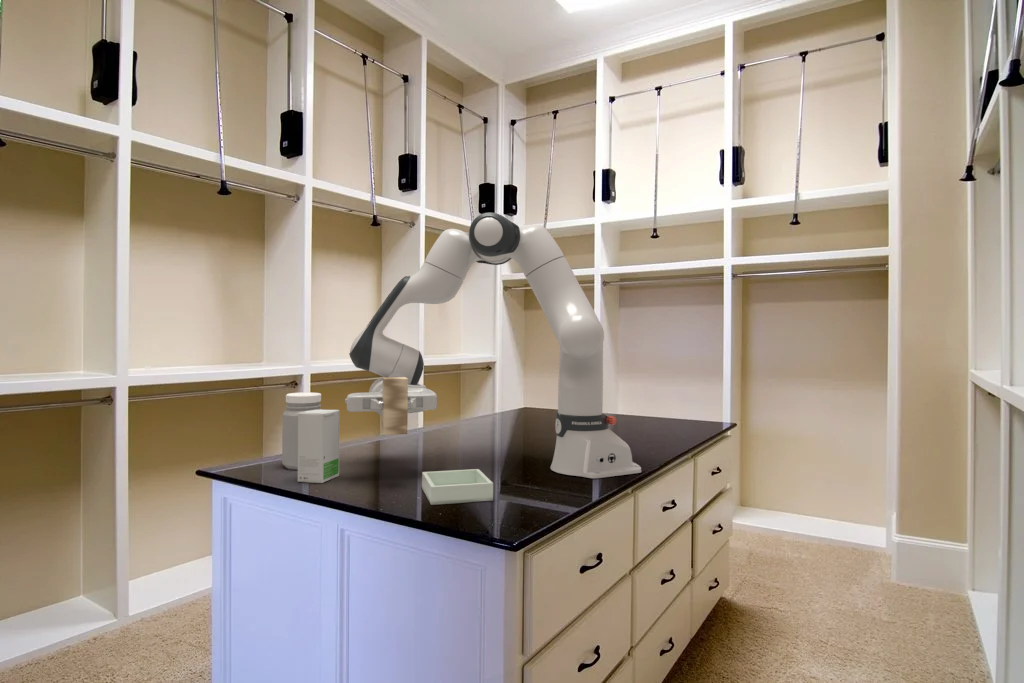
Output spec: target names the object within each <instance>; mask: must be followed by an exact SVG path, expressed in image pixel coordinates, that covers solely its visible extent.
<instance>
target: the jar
mask: <svg viewBox="0 0 1024 683" xmlns="http://www.w3.org/2000/svg"><path fill="white" fill-rule="evenodd" d="M321 401H322V393H320V392H310V391H307V392H291V393H287V394H285V403H287V404H286V405H285V410H284V412H283V413H282V429H281V430H282V433H281V434H282V437H281V438H282V444H281V445H282V447H281V448H282V450H281V451H282V452H281V456H282V458H281V462H282V463H281V464H282V465H283V466H284V467H285V468H286V469H288V470H297V471H298V413H299V412H304V411H310V410H323V409H322V408H321V407H322V404H320V403H321Z"/></svg>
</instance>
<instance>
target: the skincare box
mask: <svg viewBox="0 0 1024 683" xmlns="http://www.w3.org/2000/svg"><path fill="white" fill-rule="evenodd" d="M339 476H340V410H339V409H322V410H310V411H304V412H299V413H298V470H297V482H298V483H308V484H314V483H315V484H323V483H325V482H327V481H329V480H330V481H331V480H333V479H334V478H337V477H339Z"/></svg>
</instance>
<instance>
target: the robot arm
mask: <svg viewBox="0 0 1024 683" xmlns="http://www.w3.org/2000/svg"><path fill="white" fill-rule="evenodd" d="M469 226H470V227H469V230H468V232H467V231H463V230H461V229H458V228H457V229H456V228H448V229H445V230H443V231H442V232H441V233H440V235H439V236H438V237H437V239H436V240H435V242H434V243H433V245H432V246H431V248H430V250H429V252H428V253H427V255H426V256H425V257H426V258H425V260H424V262H423V264H422V265H421V267H420V268H419V269H418V270H417V271H416V272H415V273H414V274H412V275H408V276H407V275H405V276H403V277H402V278H401V279H400V280H399V281H398V282H397V284H396V285H395V286H394V287H393V289H392V290H391V291H390V293H388V295H387V297H386V298H385V299H384V300H383V302H382V303H381V305H380V306H379V308H378V309H377V310H376V312H375V314H373V316H372V318H371V320H370V321H369V323H368V324H367V325H366V327H365V328H363V330H361V332H360V333H359V334H358V335H357V336H356V337H355V339H354V340H353V341H352V343H351V346H350V348H349V350H350V351H349V352H348V353H349V354H348V355H349V357H350V360H351V362H352V364H353V365H354V366H355V368H357V369H361V370H363V371H366V372H371V373H373V374H376V375H379V376H380V377H379V378H377V379H376V380H374V381H373V382H372V384H371V385H370V387H369V389H368V392H352V393H349V394H347V396H346V398H345V399H344V402H345V404H346V410H347V412H350V413H355V412H356V413H358V412H359V413H360V412H364V413H365V412H375V413H377V414H378V415H379V416H381V417H382V410H383V409H384V407H383V405H384V402H383V401H382V389H383V377H406V378H407V379H408V414H413V413H420V412H423V413H424V412H425V411H427V410H428V411H435V410H436V409H437V406H438V396H437V393H436V392H435V391H433V390H432V389H429V388H427V386H426V385H424V384H419V381H420V380H421V378H422V375H423V372H424V366H425V364H424V362H425V361H424V359H423V358H424V357H423V355H422V352H421V351H420V350H418V349H416V348H414V347H412V346H410V345H407V344H404V343H401V342H399V341H397V340H395V339H393V338H390V337H389V336H386V335H385V334H384V331H385V329H386V328H387V326H388V325H389V323H390V322H391V321H392V318H394V316H395V315H396V313H397V312H398V311H399V310H400V309H401V308H402V307H403V306H405V305H408V304H427V305H428V304H429V305H440V304H444V303H447V302H449V301H451V300H452V299H454V298H455V297H456V295H457V294H458V292H460V291H459V290H460V289H461V288H462V285H463V284H464V283H463V282H464V280H465V279H466V276H467V274H468V272H469V270H470V268H471V267H472V265H473V264H474V263H478V264H485V265H492V266H499V265H501V266H502V265H504V264H507V263H508V262H510V261H511V260H514V261H515V262H516V264H518V266H519V267H520V269H521V271H522V273H523V274H524V277H525V279H526V281H527V283H528V285H529V287H530V288H531V290H532V292H533V294H534V296H535V298H536V299H537V301H538V303H539V306H540V307H541V310H542V313H544V316H545V318H546V321H547V323H548V324H549V326H550V328H551V330H552V333H553V334H554V337H555V338H556V340H557V343H558V344H559V363H558V364H559V367H558V368H559V370H558V385H557V386H558V388H557V390H558V392H557V394H558V395H557V396H558V397H557V398H558V399H557V412H556V413H555V416H556V417H555V435H556V441H555V447H554V448H555V449H554V453H553V458H552V462H551V465H550V467H549V468H550V470H551V471H553V472H555V473H557V474H562V475H567V476H576V477H583V478H588V479H601V478H610V477H615V476H616V477H617V476H624V475H633V474H639V473H642V467H641V466H640V465H639V464H637V463H636V462H634V461H633V454H632V450H631V447H630V446H629V444H628V443H627V442H626V441H625V440H623V439H622V438H621V437H620V436H618V435H617V434H616V433H615V432H613V431H612V430H611V429H610V426H609V425H612V426H614V425H616V424H617V421H618V420H617V418H616V416H612V415H606V414H604V413H603V406H604V405H603V401H604V400H603V398H604V396H603V394H604V388H603V386H604V384H603V383H604V340H605V331H604V328H603V325H602V323H601V321H600V320H599V317H598V316H597V314H596V312H595V311H594V308H593V306H592V304H591V303H590V302H589V299H588V298H587V296H586V294H585V291H584V289H583V288H582V286H581V285H580V283H579V281H578V279H577V278H576V275H575V274H574V272H573V270H572V268H571V266H570V263H569V261H568V260H567V258H566V257H565V255H564V253H563V251H562V249H561V248H560V246H559V244H558V243H557V241H556V240H555V239H554V237H553V236H552V234H550V232H549V231H548V230H547V229H546V228H545V227H544V226H542V225H540V224H532V225H527V226H526V227H524V228H521V229H520V227H519V225H518V224H517V223H515V222H513V221H511V220H509V219H508V218H506V216H504V215H502V214H500V213H496V212H484V213H481V214H479V215H478V216H476V217H475V218H474V219H473V220H472V222H471V224H470V225H469Z"/></svg>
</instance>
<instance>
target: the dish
mask: <svg viewBox="0 0 1024 683" xmlns="http://www.w3.org/2000/svg"><path fill="white" fill-rule="evenodd" d="M421 473H422V474H421V489H422V491H423V493H424V494H425V496H426V498H427V500H428V502H429V504H430V505H432V506H434V505H446V504H447V505H449V504H450V505H451V504H462V503H463V504H464V503H475V502H477V503H478V502H491V501H494V482H493V481H492V480H490V478H488V477H487V475H485V473H484V472H482V470H480V469H479V468H474V469H473V468H471V469H454V470H437V471H435V470H434V471H422V472H421Z"/></svg>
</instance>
